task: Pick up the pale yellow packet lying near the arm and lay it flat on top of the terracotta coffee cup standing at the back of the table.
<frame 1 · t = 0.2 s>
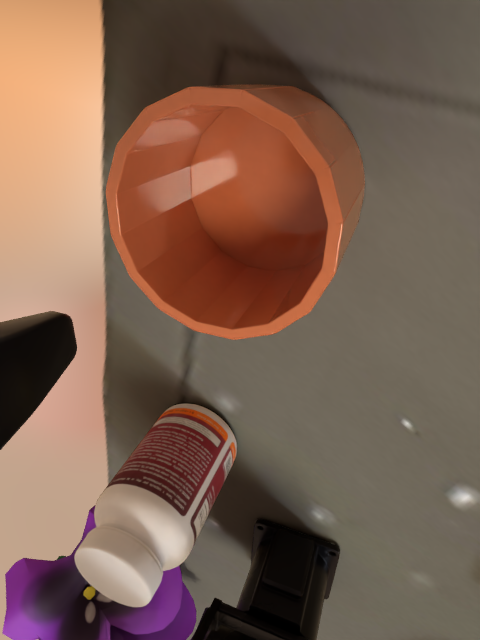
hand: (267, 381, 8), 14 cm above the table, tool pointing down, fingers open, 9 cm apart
cup: (270, 188, 21), on the table
pill bottle: (201, 432, 32), on the table
flower: (69, 570, 46), point 2 cm above the table
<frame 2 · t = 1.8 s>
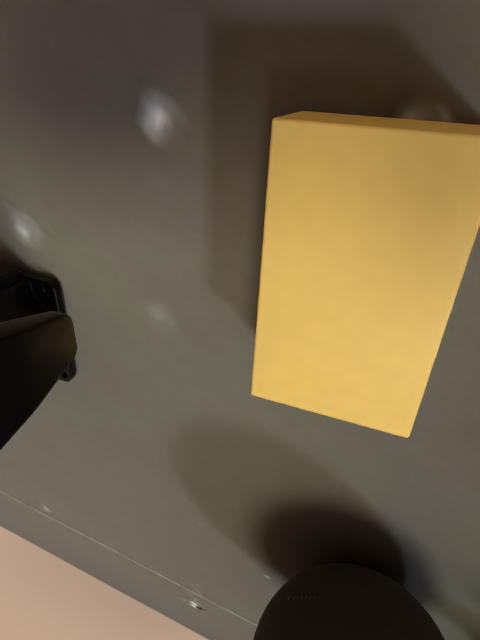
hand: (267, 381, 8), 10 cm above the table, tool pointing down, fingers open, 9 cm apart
speaker: (365, 578, 25), on the table
packet: (361, 260, 17), on the table
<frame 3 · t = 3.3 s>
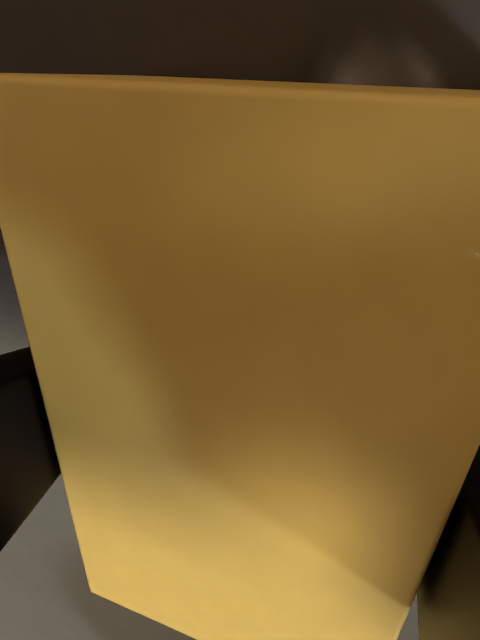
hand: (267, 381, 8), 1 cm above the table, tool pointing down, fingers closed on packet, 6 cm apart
packet: (280, 353, 9), on the table, touching gripper
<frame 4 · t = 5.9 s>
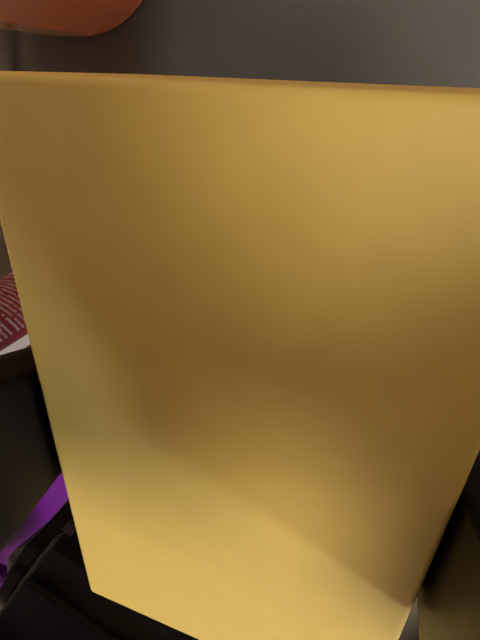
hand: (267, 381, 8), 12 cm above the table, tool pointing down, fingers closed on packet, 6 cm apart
pill bottle: (68, 306, 26), on the table
packet: (281, 352, 9), point 11 cm above the table, touching gripper
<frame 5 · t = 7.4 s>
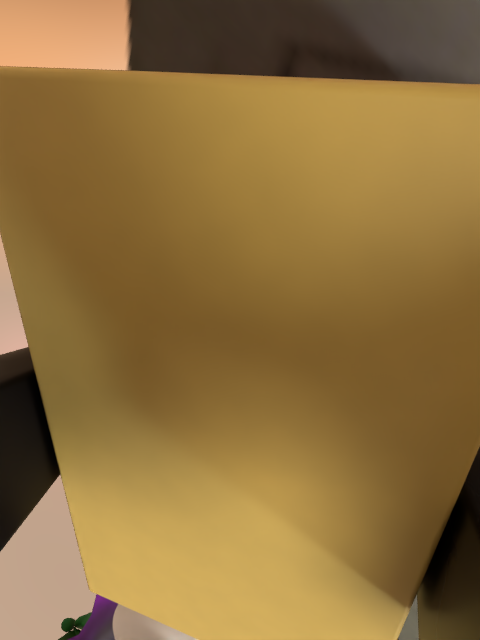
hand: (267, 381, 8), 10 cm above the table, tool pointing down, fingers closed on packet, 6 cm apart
pill bottle: (234, 501, 27), on the table
flower: (75, 632, 41), point 2 cm above the table
packet: (280, 351, 9), point 9 cm above the table, touching gripper
when the fingers open (8 cm above the table, at t = 8.5 s): packet stays where it is, resting on cup.
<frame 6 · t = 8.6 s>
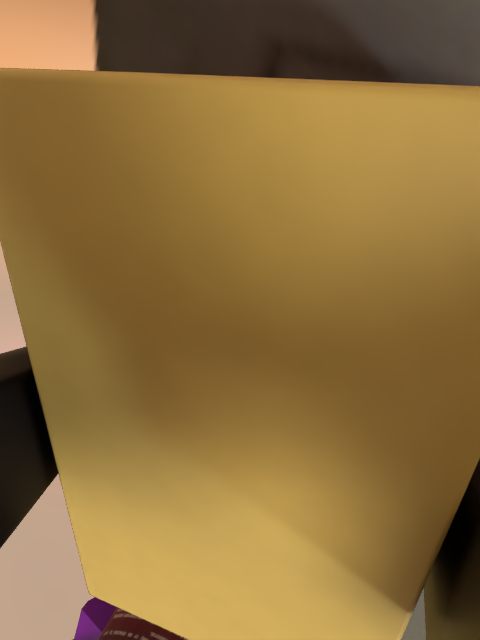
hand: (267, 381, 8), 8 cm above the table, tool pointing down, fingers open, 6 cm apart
pill bottle: (221, 532, 25), on the table
packet: (280, 353, 9), point 7 cm above the table, touching cup
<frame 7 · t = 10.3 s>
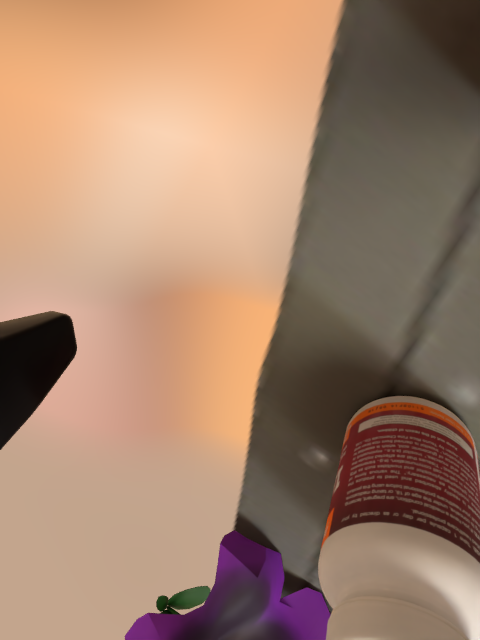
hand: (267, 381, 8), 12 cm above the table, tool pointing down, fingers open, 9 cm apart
pill bottle: (407, 437, 22), on the table
flower: (169, 612, 36), point 2 cm above the table
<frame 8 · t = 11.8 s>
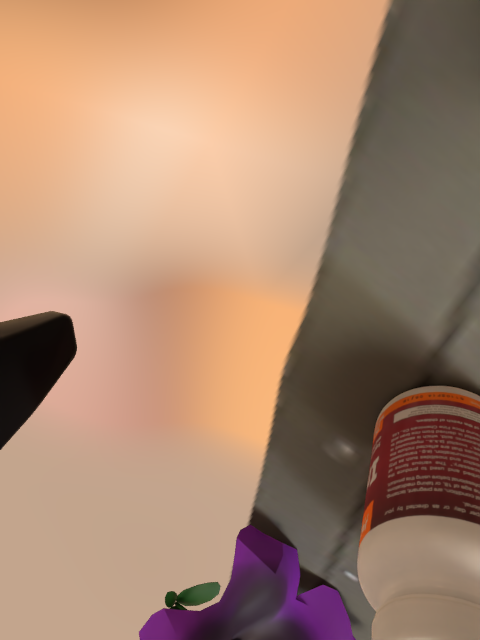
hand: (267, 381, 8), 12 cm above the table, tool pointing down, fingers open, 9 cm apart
pill bottle: (440, 429, 22), on the table
flower: (177, 608, 35), point 2 cm above the table
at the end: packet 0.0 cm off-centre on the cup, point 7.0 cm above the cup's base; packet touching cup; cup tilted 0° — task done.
